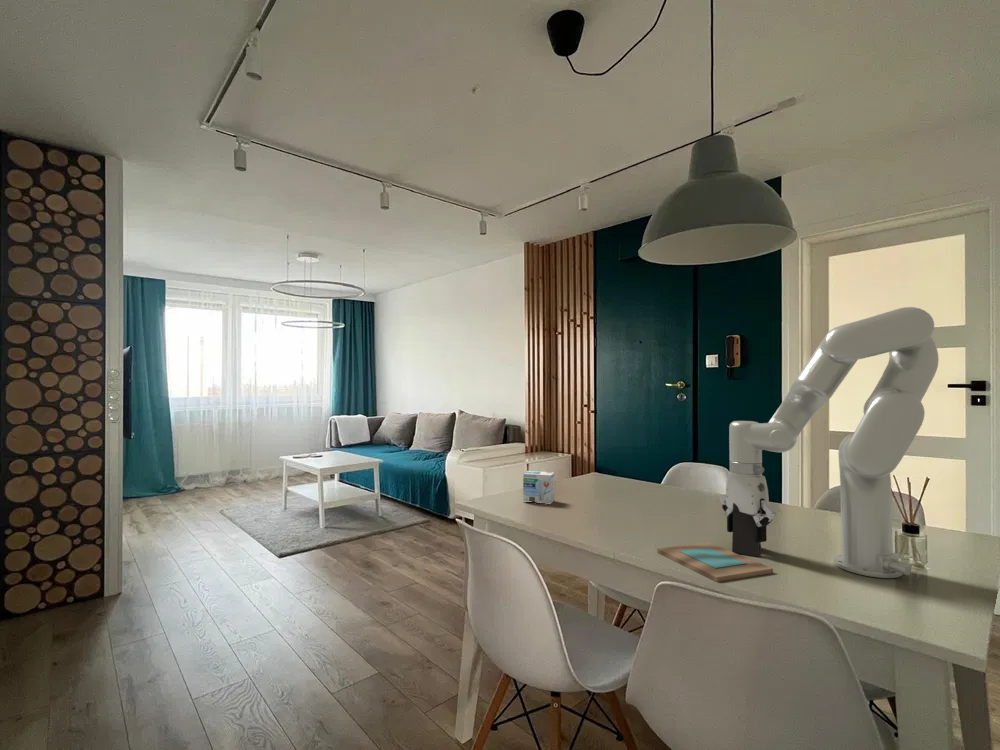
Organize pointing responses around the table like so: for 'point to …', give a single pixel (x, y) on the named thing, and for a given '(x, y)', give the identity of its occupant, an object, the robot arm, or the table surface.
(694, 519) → the table surface
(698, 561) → the wooden board
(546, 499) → the light bulb box
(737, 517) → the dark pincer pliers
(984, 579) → the table surface
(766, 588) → the table surface
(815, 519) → the table surface
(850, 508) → the robot arm
